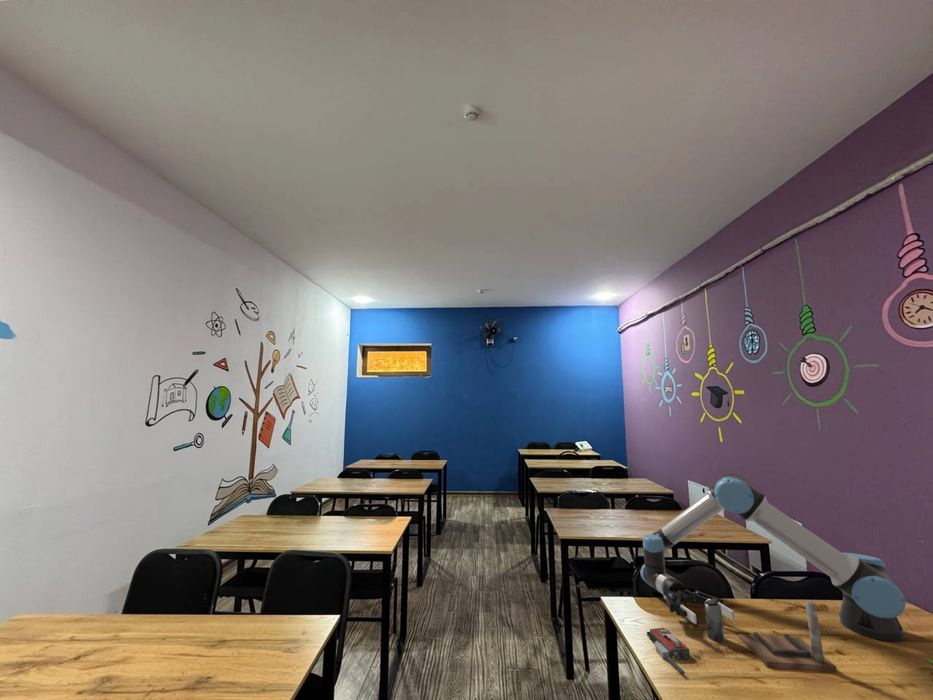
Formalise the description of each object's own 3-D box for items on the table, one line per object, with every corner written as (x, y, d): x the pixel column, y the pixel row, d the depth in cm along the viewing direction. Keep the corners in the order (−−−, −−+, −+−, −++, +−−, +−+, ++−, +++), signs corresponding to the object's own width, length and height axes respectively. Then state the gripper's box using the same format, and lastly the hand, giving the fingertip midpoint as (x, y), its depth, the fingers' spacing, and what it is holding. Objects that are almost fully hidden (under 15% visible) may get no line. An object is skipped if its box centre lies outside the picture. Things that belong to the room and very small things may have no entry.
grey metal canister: (716, 633, 127) (712, 595, 129) (728, 641, 123) (723, 602, 125) (704, 634, 127) (700, 596, 129) (715, 642, 122) (710, 603, 124)
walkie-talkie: (640, 637, 126) (680, 679, 106) (639, 623, 127) (679, 661, 107) (665, 636, 127) (710, 676, 107) (664, 621, 128) (708, 659, 108)
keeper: (803, 642, 122) (796, 586, 124) (840, 672, 108) (831, 607, 111) (739, 639, 124) (733, 583, 127) (767, 667, 110) (759, 604, 113)
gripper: (702, 597, 147) (750, 627, 126) (641, 601, 144) (680, 633, 123) (700, 575, 148) (747, 602, 127) (640, 580, 145) (678, 607, 124)
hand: (714, 617), depth 125 cm, fingers open, 13 cm apart
